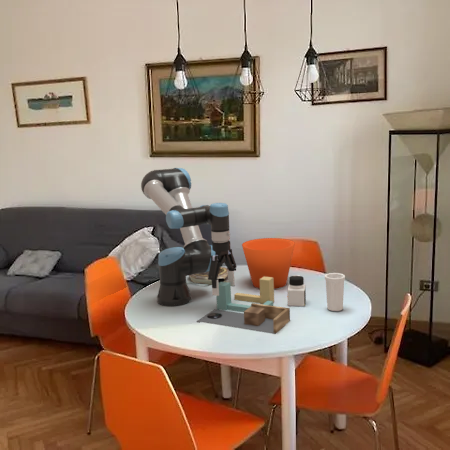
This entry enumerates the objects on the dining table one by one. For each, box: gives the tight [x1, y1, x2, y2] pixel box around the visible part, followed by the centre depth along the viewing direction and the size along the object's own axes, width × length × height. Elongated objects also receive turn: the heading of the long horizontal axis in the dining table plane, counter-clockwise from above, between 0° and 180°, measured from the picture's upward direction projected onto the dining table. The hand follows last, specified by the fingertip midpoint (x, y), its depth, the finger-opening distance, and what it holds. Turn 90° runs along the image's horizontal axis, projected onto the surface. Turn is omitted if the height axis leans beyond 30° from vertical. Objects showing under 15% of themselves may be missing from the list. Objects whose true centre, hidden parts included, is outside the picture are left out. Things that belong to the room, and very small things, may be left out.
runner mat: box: [196, 308, 282, 335], centre depth 208 cm, size 34×14×1 cm, turn 61°
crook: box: [215, 281, 274, 313], centre depth 222 cm, size 20×12×11 cm, turn 61°
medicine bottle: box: [286, 274, 307, 307], centre depth 224 cm, size 7×7×12 cm
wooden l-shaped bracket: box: [250, 302, 291, 334], centre depth 203 cm, size 16×13×6 cm
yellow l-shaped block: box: [233, 277, 275, 305], centre depth 230 cm, size 18×4×11 cm, turn 61°
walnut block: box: [243, 307, 265, 326], centre depth 205 cm, size 6×6×5 cm
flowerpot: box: [241, 237, 296, 290], centre depth 252 cm, size 25×25×20 cm
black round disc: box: [206, 313, 222, 319], centre depth 214 cm, size 6×6×1 cm
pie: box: [188, 266, 230, 287], centre depth 268 cm, size 28×27×5 cm
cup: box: [324, 272, 346, 312], centre depth 215 cm, size 8×8×14 cm
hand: (223, 290), depth 222 cm, fingers open, 13 cm apart
